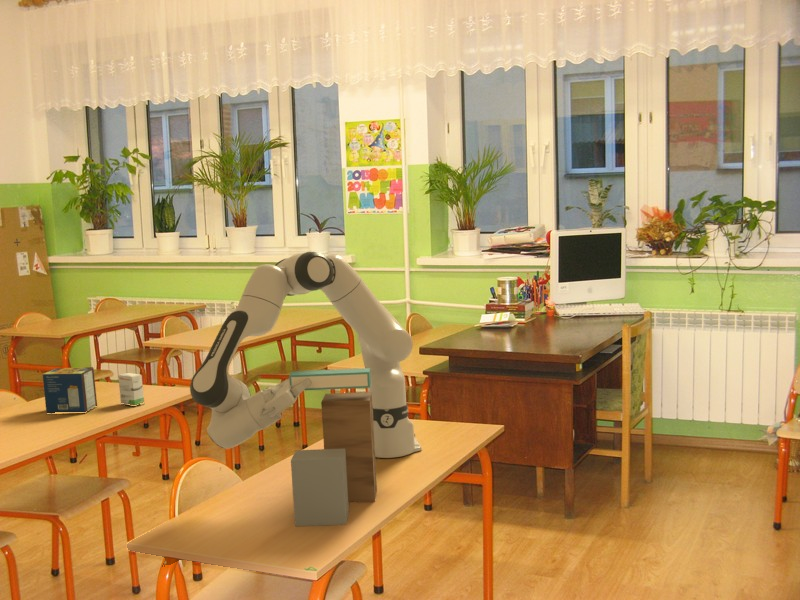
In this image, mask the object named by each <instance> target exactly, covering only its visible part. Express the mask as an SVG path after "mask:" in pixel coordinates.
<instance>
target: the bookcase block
mask: <svg viewBox="0 0 800 600" xmlns="http://www.w3.org/2000/svg"><path fill="white" fill-rule="evenodd" d="M320 404H321V405H320V406H321V420H322V421H321V422H322V437H323V438H322V439H323V449H345V453H346V470H347V488H348V504H349V503H374V502H376V500H377V499H376V498H377V492H378V485H377V483H378V482H377V481H378V480H377V467H376V466H377V461H376V457H375V441H374V422H373V403H372V392H368V391H364V392H363V391H361V392H337V393H335V392H334V393H325V394H324V396H323V398H322V400H321V403H320Z"/></svg>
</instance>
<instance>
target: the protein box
mask: <svg viewBox="0 0 800 600" xmlns="http://www.w3.org/2000/svg"><path fill="white" fill-rule="evenodd" d="M42 382H43V392H44V402H45V403H44V404H45V412H46V413H55V412H86V411H88V410H90V409H92V408H94V407H95V406H97V407H98V400H97V392H96V390H97V389H96V381H95V371H94V367H93V366H86V367H56V368H52V369H51V370H49V371H47V372H43V373H42ZM94 409H95V408H94Z"/></svg>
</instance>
